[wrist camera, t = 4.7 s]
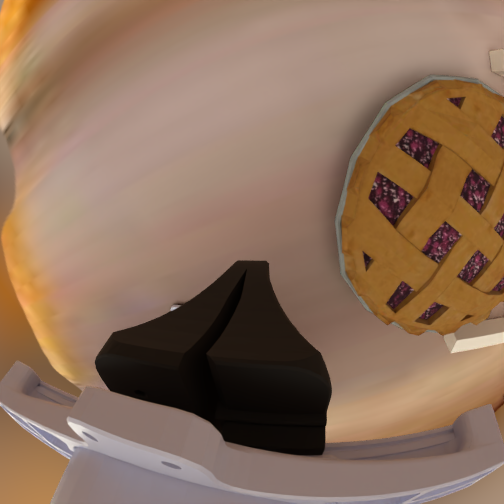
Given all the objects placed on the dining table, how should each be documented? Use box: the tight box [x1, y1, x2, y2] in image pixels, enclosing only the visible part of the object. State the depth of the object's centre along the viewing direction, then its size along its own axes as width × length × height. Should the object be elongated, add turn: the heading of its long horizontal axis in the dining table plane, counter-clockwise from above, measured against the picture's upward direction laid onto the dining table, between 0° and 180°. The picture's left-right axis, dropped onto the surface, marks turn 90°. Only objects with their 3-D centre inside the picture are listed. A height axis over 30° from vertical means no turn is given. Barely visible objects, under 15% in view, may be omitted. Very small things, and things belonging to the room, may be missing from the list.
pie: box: [335, 75, 504, 336], centre depth 17 cm, size 22×22×5 cm
